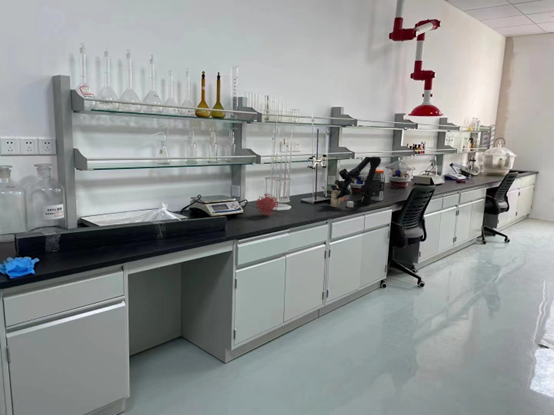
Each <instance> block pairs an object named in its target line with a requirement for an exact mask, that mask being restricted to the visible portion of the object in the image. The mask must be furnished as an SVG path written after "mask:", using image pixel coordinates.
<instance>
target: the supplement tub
mask: <svg viewBox="0 0 554 415" xmlns="http://www.w3.org/2000/svg"><path fill="white" fill-rule="evenodd" d="M367 176H368V174H367V175H366V177H367ZM385 186H386V176H385V170H383V169H376V171H375V174H374V177H373V180H372V184H371V187H372V190H371V192H372V193H373V197H371V201H379V202H380V201H382V200H384V194H385Z"/></svg>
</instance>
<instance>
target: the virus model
mask: <svg viewBox="0 0 554 415" xmlns="http://www.w3.org/2000/svg"><path fill="white" fill-rule="evenodd" d="M263 195H264V196H259V198H257V200H256V203H255V204H256V205H257V206H256V209H258V212H259V213H260V214H261V215H267V216H272V215H273V213H272V212H271V211H274V210H277V211H278V207H279V201H278V199H277V197H275V195H274V194H272V195H271V194H270V193H268V194H267V193H264V194H263Z"/></svg>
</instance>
